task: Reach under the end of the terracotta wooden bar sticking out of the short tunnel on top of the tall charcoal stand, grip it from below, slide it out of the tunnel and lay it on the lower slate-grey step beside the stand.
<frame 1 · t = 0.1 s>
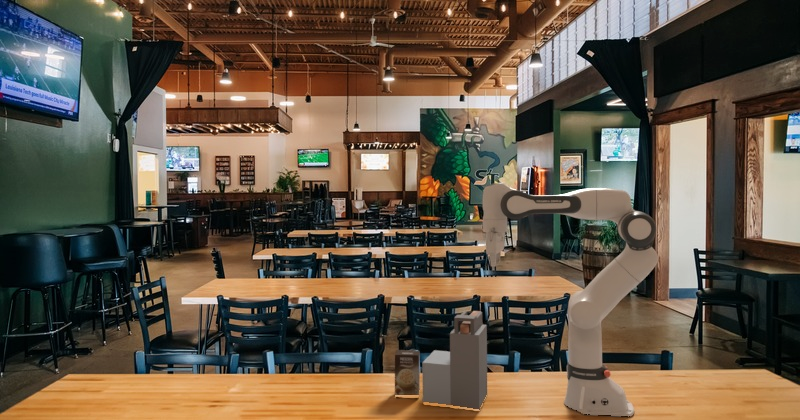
hand: (495, 265, 190), 48 cm above the table, tool pointing down, fingers open, 8 cm apart
stepped stand: (455, 400, 186), on the table
coffee box: (407, 396, 191), on the table
bar: (471, 325, 189), point 26 cm above the table, touching stepped stand
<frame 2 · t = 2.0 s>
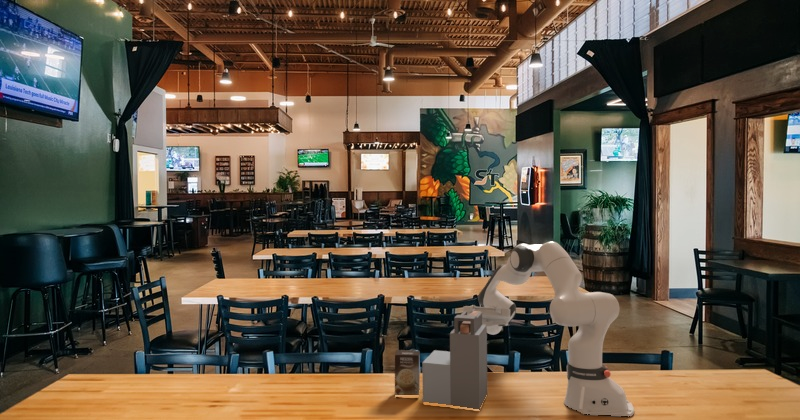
hand: (484, 307, 216), 27 cm above the table, tool pointing upward, fingers open, 8 cm apart
nothing on the table moved.
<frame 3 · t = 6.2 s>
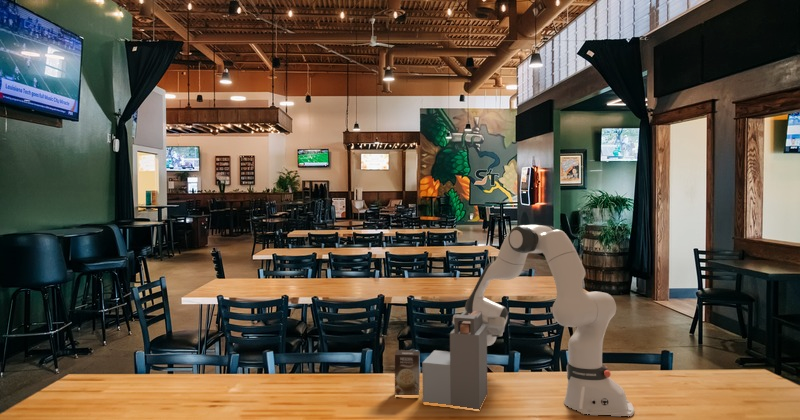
hand: (475, 315, 196), 28 cm above the table, tool pointing upward, fingers closed on bar, 3 cm apart
bar: (471, 325, 189), point 26 cm above the table, touching gripper, stepped stand
everything else where it was.
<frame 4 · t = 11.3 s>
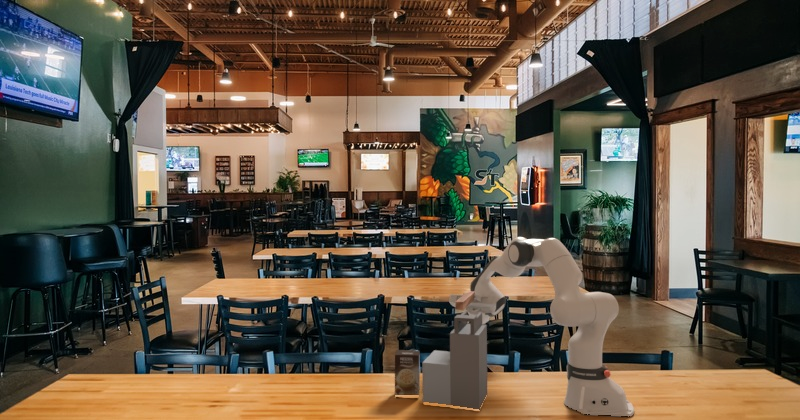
hand: (469, 295, 216), 32 cm above the table, tool pointing upward, fingers closed on bar, 3 cm apart
bar: (465, 303, 208), point 30 cm above the table, touching gripper
everything else where it was.
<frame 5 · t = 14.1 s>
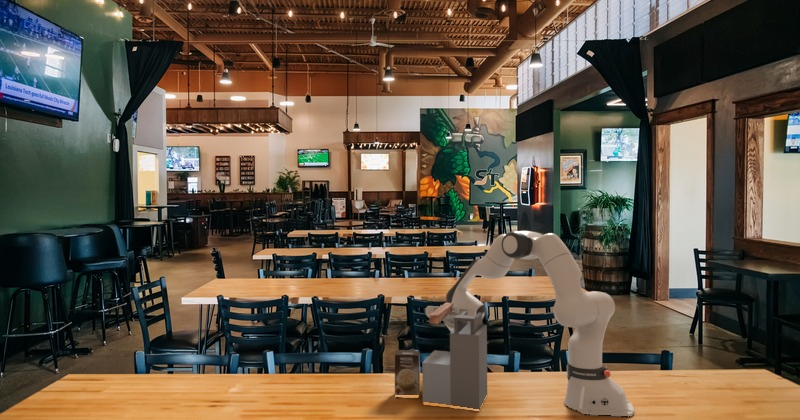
hand: (447, 307, 200), 31 cm above the table, tool pointing upward, fingers closed on bar, 3 cm apart
bar: (442, 316, 192), point 29 cm above the table, touching gripper
everything else where it was.
when the fingers open (19 cm above the table, at t = 16.4 s): bar drops 2 cm, resting on stepped stand.
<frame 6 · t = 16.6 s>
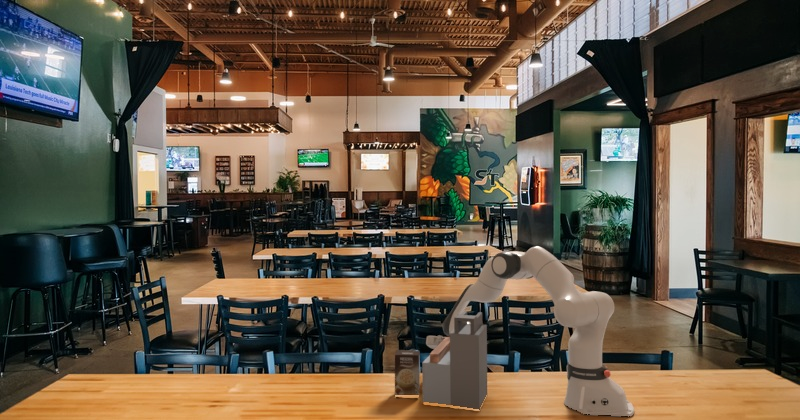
hand: (447, 338, 200), 19 cm above the table, tool pointing upward, fingers open, 5 cm apart
bar: (442, 353, 192), point 15 cm above the table, touching stepped stand
everything else where it was.
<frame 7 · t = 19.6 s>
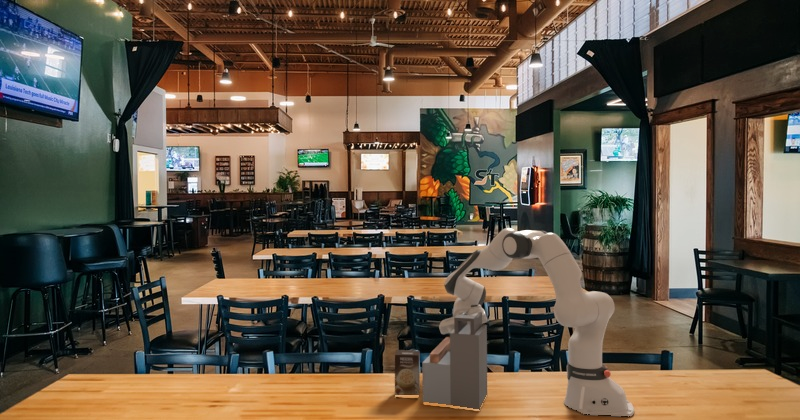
hand: (463, 329, 207), 20 cm above the table, tool horizontal, fingers open, 8 cm apart
nothing on the table moved.
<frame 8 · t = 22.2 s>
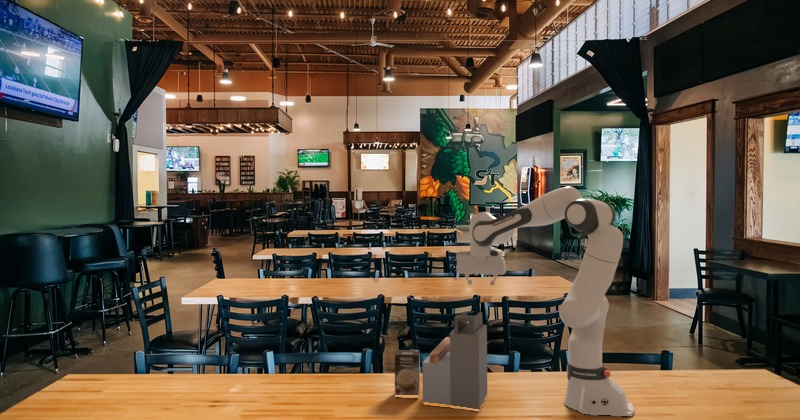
hand: (481, 284, 213), 37 cm above the table, tool pointing down, fingers open, 8 cm apart
nothing on the table moved.
at the end: bar inside the target area (0.1 cm from its centre), point 15.0 cm above the table; bar tilted 0°; the gripper is holding nothing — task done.
